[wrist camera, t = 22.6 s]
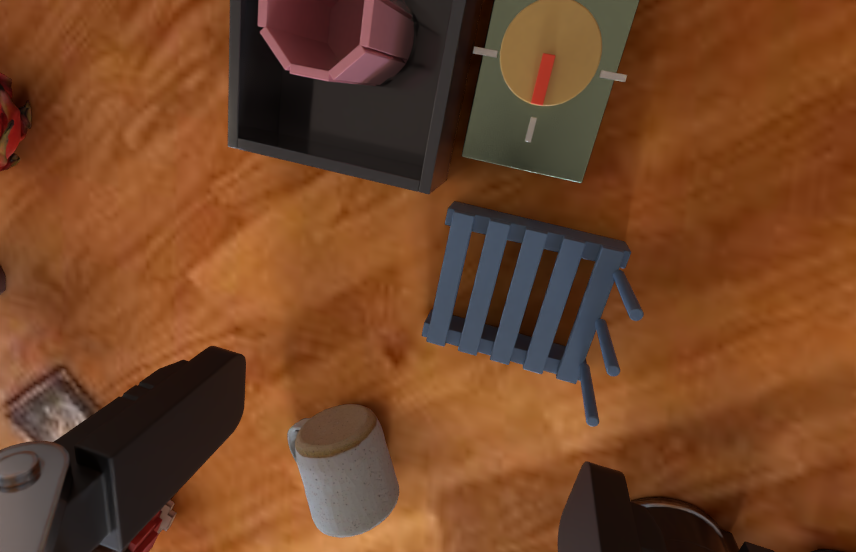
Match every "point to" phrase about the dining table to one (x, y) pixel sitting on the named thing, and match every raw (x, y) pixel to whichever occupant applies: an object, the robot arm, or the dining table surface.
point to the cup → (339, 38)
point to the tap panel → (544, 125)
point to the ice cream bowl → (2, 281)
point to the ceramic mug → (345, 469)
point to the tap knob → (550, 52)
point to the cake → (147, 531)
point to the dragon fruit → (11, 124)
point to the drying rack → (506, 338)
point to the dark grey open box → (357, 102)
